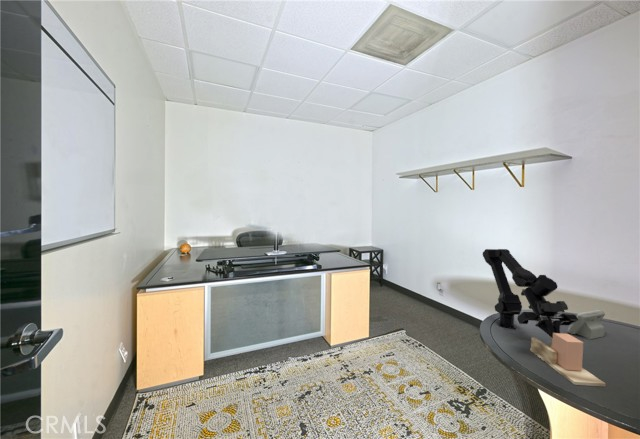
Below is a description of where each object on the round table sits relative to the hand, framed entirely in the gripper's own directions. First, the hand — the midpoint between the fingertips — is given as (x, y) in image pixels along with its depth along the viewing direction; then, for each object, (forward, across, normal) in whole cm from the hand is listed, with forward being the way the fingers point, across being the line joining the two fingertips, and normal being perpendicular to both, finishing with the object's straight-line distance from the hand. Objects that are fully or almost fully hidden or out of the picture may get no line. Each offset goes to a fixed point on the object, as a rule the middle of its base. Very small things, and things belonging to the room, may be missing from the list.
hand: (559, 342), depth 92 cm
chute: (+7, 0, +4) cm, 8 cm away
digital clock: (-12, +31, +23) cm, 40 cm away
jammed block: (+7, 0, +2) cm, 7 cm away
